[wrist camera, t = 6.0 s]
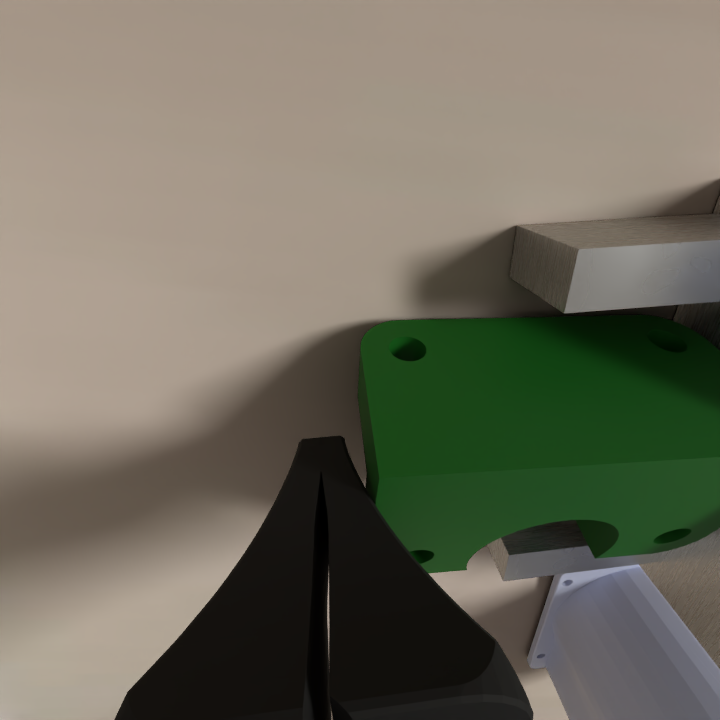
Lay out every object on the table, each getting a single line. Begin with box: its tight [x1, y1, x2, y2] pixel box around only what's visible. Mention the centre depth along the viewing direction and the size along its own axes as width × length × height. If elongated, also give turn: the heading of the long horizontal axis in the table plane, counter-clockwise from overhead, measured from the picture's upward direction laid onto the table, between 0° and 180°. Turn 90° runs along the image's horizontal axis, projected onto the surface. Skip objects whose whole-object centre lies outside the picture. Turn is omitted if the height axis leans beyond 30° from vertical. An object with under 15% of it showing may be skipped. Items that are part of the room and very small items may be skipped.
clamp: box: [358, 315, 720, 573], centre depth 12 cm, size 11×6×8 cm, turn 82°
